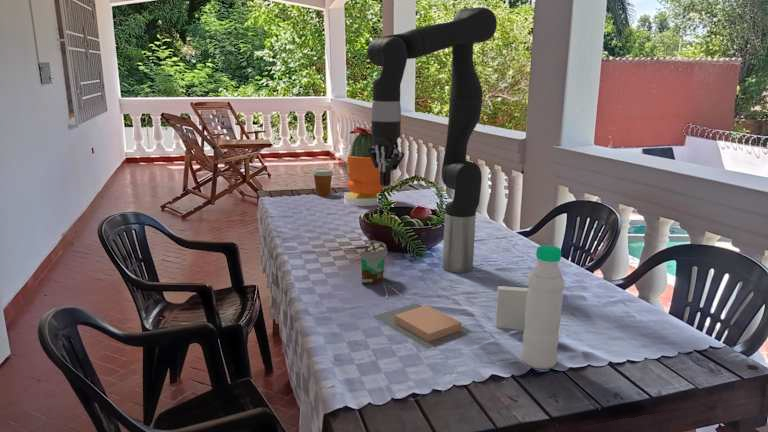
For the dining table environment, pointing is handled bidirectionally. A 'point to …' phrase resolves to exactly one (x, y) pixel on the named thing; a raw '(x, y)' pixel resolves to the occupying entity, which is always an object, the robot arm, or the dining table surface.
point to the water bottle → (543, 310)
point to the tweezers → (393, 289)
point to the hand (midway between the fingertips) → (385, 185)
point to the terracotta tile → (427, 323)
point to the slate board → (389, 320)
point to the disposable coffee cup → (323, 181)
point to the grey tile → (511, 307)
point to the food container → (373, 263)
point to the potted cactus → (362, 171)
